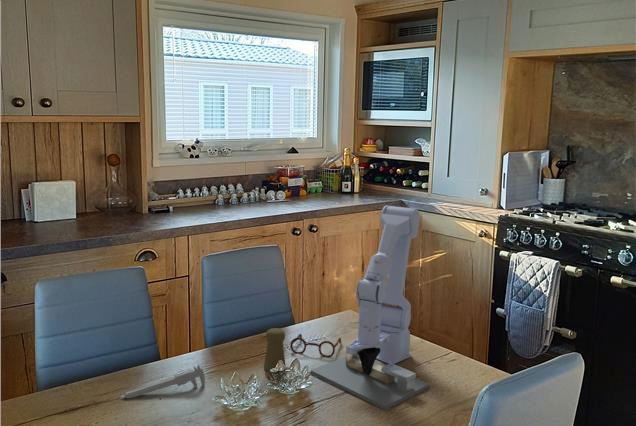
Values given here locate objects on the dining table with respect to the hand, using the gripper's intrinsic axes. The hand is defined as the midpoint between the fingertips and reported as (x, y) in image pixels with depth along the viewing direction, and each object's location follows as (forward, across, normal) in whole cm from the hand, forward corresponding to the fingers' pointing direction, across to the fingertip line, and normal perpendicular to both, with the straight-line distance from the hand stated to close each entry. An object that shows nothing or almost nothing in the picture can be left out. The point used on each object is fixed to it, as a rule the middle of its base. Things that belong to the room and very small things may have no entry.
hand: (366, 373), depth 161 cm
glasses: (+3, +5, +25) cm, 25 cm away
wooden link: (+1, +2, +1) cm, 3 cm away
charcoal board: (+2, 0, 0) cm, 2 cm away
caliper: (+3, -45, +27) cm, 52 cm away
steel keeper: (+1, +3, -8) cm, 9 cm away
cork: (+2, -14, +21) cm, 26 cm away
